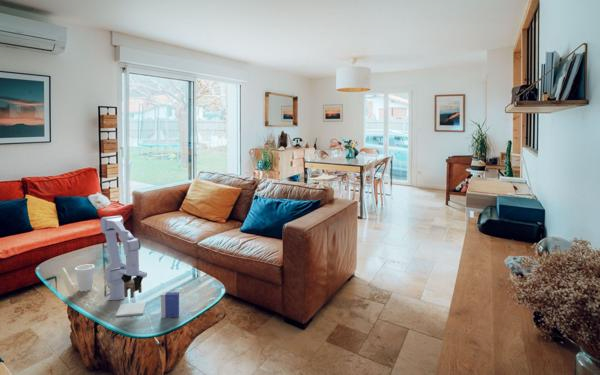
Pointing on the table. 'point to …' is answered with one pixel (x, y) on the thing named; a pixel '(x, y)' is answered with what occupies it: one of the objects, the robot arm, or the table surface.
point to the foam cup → (85, 276)
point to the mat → (131, 309)
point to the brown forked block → (132, 288)
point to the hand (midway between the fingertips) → (133, 289)
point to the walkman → (169, 304)
